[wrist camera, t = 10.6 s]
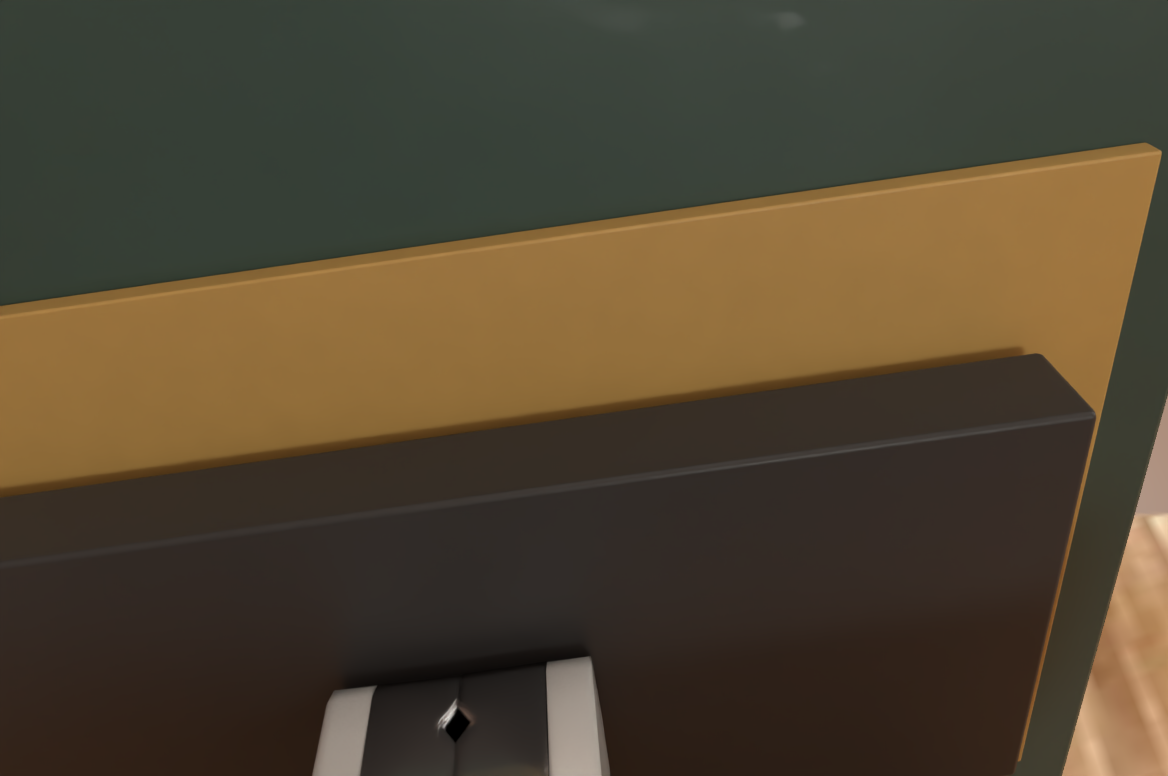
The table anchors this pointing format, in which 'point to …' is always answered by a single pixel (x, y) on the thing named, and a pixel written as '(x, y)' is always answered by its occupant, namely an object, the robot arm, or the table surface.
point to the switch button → (573, 583)
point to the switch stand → (575, 227)
